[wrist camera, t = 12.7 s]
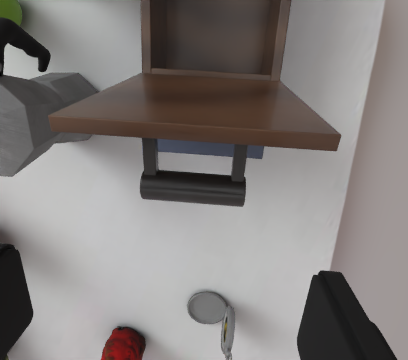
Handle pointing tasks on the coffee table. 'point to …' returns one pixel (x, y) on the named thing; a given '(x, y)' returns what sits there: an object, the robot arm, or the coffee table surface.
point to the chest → (214, 38)
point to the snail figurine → (11, 10)
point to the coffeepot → (33, 103)
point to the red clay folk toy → (124, 345)
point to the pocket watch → (214, 316)
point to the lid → (198, 127)
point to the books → (206, 148)
